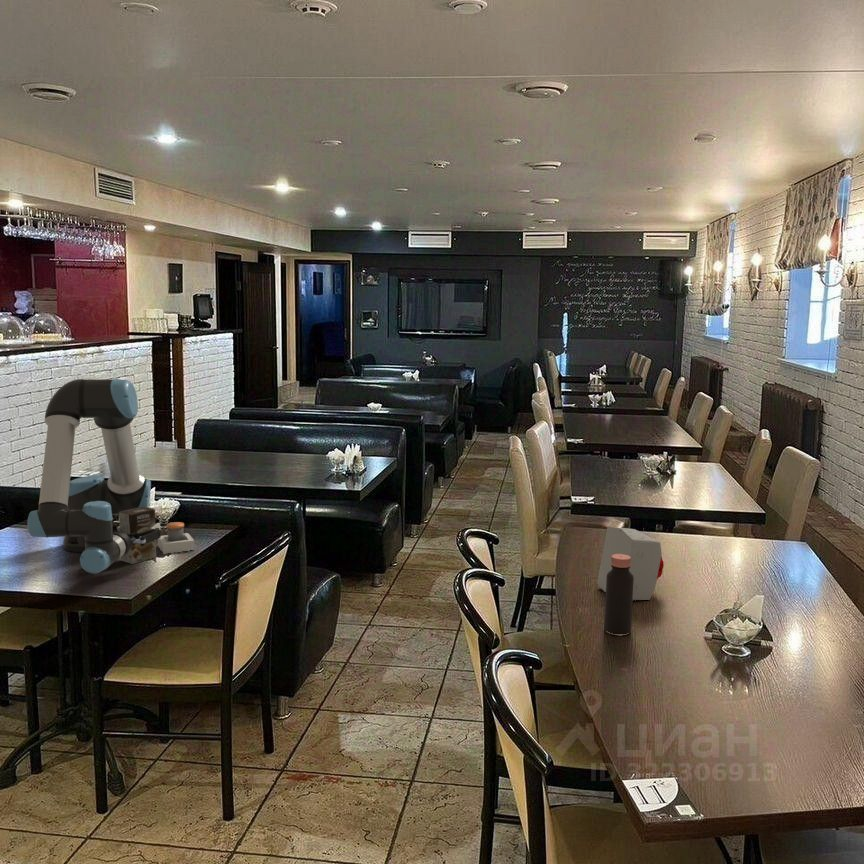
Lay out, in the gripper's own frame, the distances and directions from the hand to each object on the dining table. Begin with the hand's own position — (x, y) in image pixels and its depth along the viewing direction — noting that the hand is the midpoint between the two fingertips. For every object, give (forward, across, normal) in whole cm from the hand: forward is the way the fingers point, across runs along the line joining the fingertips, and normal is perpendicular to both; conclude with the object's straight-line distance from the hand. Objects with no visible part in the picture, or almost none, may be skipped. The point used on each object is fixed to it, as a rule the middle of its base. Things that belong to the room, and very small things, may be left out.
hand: (142, 526), depth 277 cm
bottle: (-52, +144, -10) cm, 153 cm away
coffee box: (-4, 0, -10) cm, 11 cm away
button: (+8, +8, -7) cm, 13 cm away
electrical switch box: (-22, +153, -10) cm, 155 cm away
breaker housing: (+8, +8, -10) cm, 15 cm away
